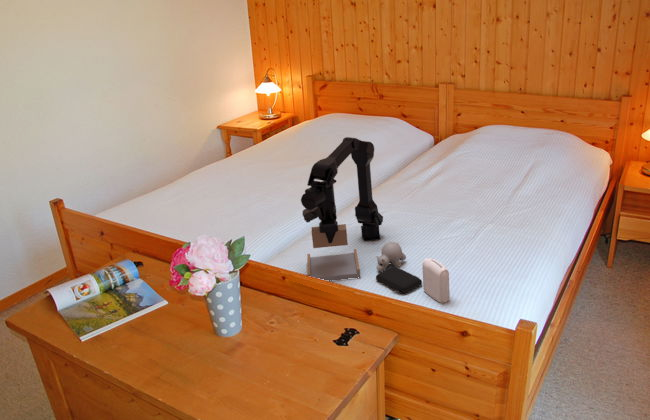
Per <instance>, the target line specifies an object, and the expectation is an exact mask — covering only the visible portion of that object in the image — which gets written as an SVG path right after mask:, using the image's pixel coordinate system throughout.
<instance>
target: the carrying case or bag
mask: <svg viewBox="0 0 650 420" xmlns="http://www.w3.org/2000/svg"><path fill="white" fill-rule="evenodd" d="M375 280H376V282H378V283H381V284H382V285H384V286H385V287H388V288H389V289H391V291H392V292H394V293H397V294H399V293H400V294H402V295H404V294H405V295H406V294H408V293H410V292H412V291H414V290H416V289H417V288H420V287H421V285H423V280H422V279H421V278H420V277H418V276H416V275H414V274H412V273H410V272H408V271H406V270H403V269H401V268H399V267H395V266H394V265H393V266H391V267H388V268H385V270H384V271H382V272H381V271H379V273H378V274H376V276H375Z"/></svg>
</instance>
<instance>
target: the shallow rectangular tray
mask: <svg viewBox="0 0 650 420" xmlns="http://www.w3.org/2000/svg"><path fill="white" fill-rule="evenodd" d="M357 251H358V250H357V248H356V249H355V248H354V249H353V252H350V253H349V252H348V253H341V254H331V255H321V256H311V253H307V255H306V259H307V262H306V263H307V264H306V265H307V266H306V267H307V277H308V276H311V277H315V278H320V279H324V280H329V281H328V282H333V281H332V280H337V281H342V280H341V279H347V280H349V279H348V278H357V279H361V267H360V263H359V257H358V252H357ZM358 277H359V278H358ZM330 280H331V281H330Z"/></svg>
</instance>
